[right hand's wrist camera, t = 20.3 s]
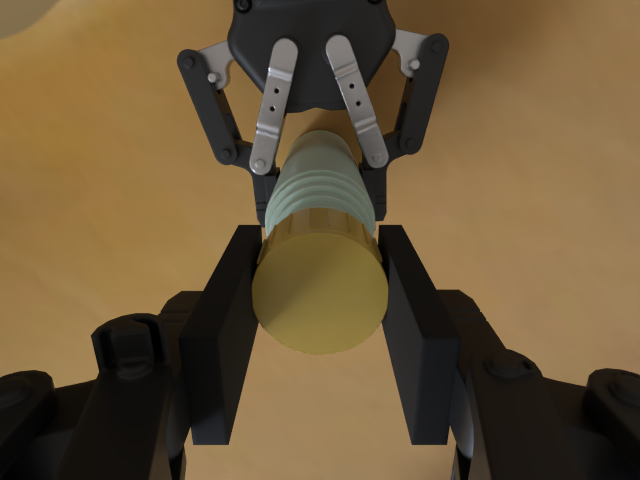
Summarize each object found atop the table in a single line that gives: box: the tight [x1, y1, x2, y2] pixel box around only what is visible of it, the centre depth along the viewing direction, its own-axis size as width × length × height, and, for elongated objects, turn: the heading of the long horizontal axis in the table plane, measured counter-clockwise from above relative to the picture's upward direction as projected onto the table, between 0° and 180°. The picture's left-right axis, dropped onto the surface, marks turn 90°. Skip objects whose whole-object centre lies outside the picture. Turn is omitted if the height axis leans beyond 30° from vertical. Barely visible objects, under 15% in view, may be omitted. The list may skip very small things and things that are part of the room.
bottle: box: [265, 130, 375, 237], centre depth 22 cm, size 5×5×19 cm
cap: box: [252, 207, 389, 355], centre depth 13 cm, size 4×4×2 cm
